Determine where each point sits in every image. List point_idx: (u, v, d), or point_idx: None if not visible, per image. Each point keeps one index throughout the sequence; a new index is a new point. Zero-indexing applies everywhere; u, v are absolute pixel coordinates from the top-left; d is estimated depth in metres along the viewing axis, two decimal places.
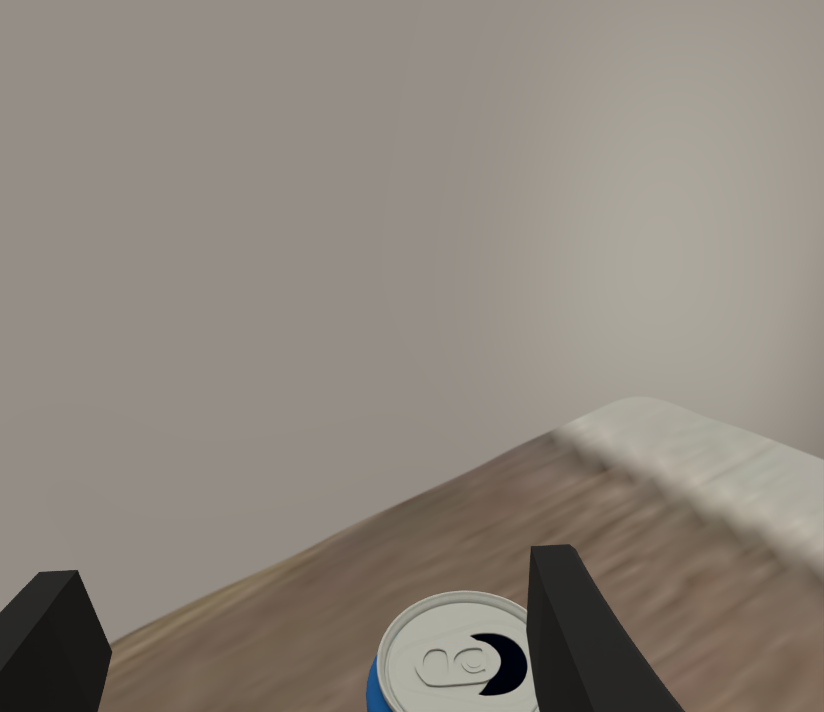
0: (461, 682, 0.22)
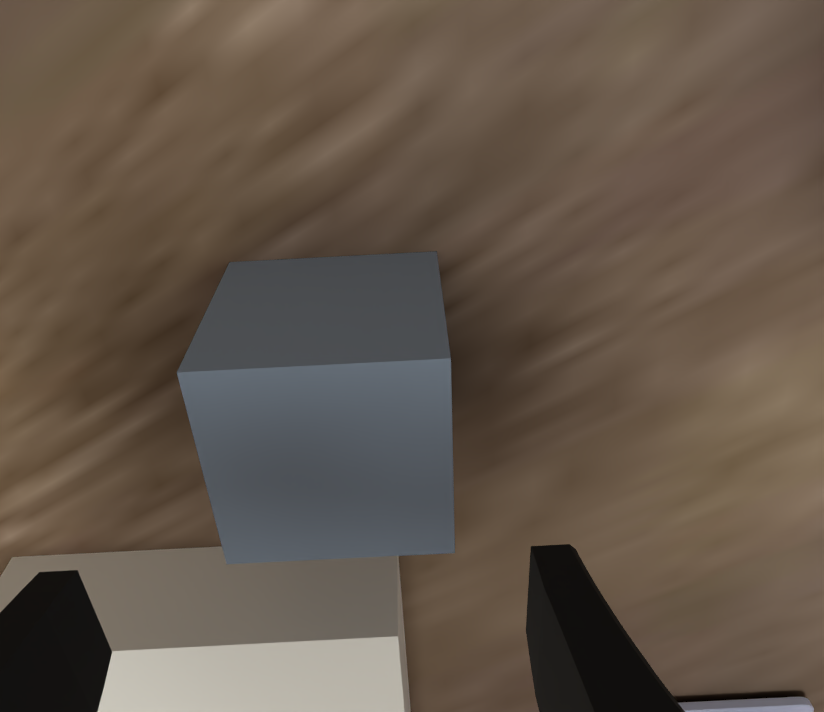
0: None
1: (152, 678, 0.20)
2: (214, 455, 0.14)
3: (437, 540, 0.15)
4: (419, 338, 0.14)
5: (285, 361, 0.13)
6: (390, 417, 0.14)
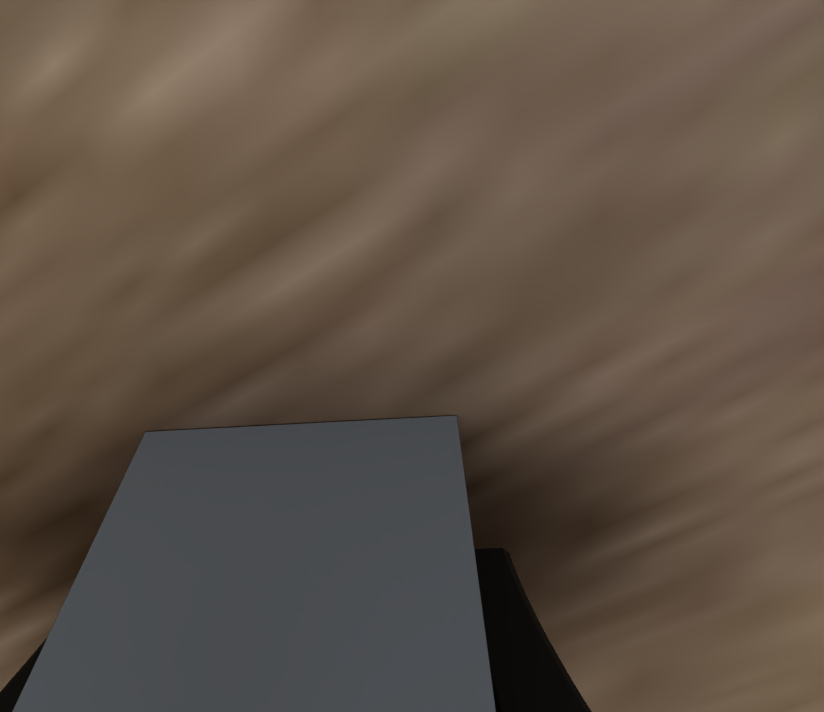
0: None
1: None
2: None
3: None
4: (436, 646, 0.08)
5: (197, 708, 0.07)
6: None
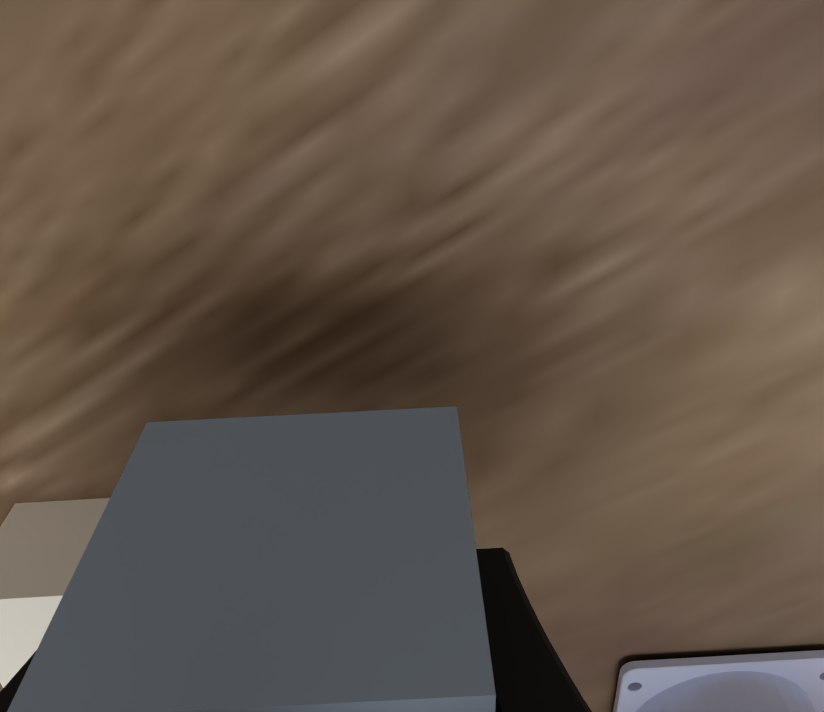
0: None
1: None
2: None
3: None
4: (436, 631, 0.08)
5: (199, 692, 0.07)
6: None
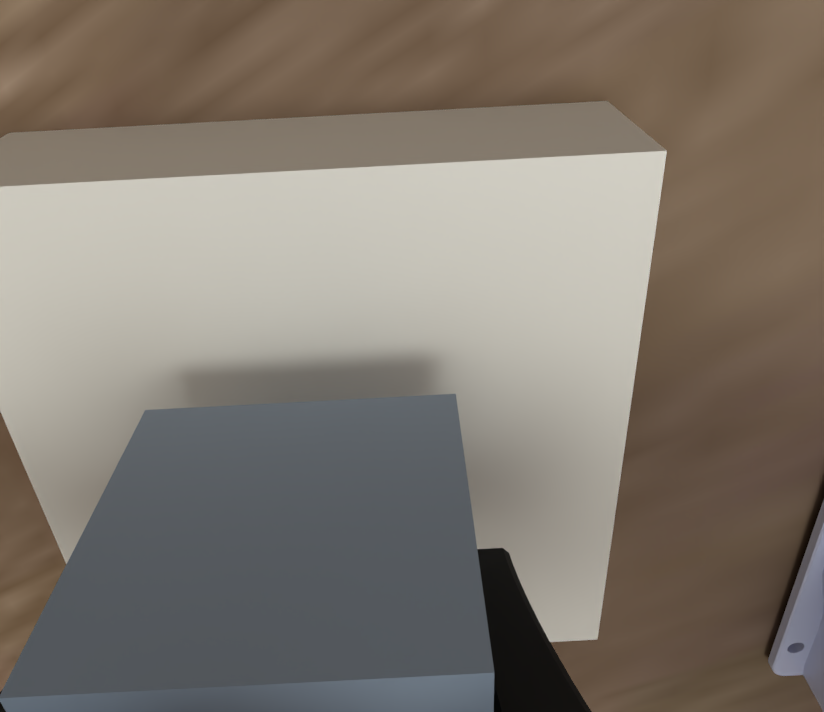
0: None
1: (244, 247, 0.12)
2: None
3: None
4: (435, 611, 0.08)
5: (196, 671, 0.07)
6: None
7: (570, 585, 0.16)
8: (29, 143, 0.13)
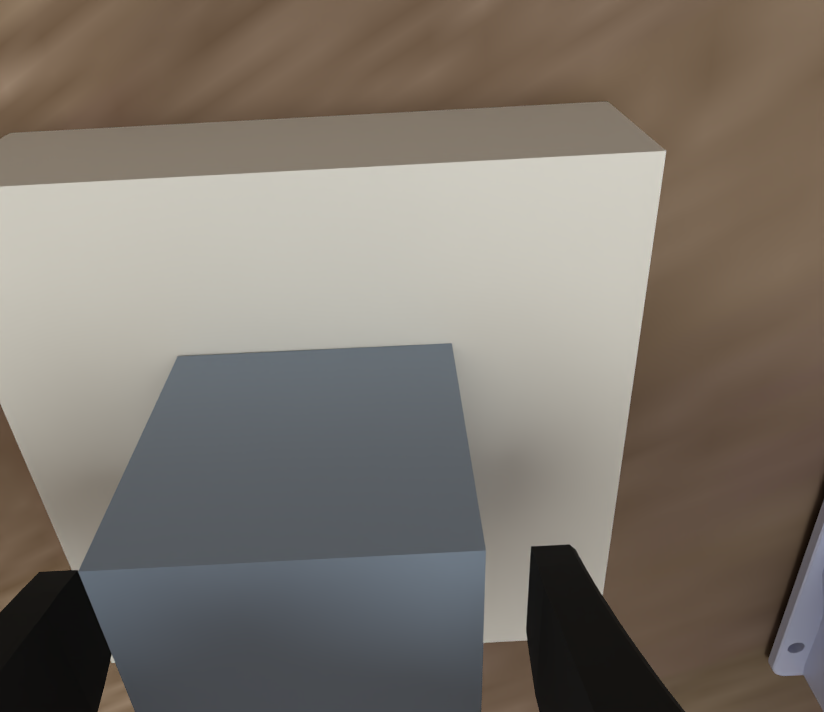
0: None
1: (245, 246, 0.12)
2: (141, 669, 0.10)
3: None
4: (436, 507, 0.09)
5: (240, 551, 0.09)
6: (394, 622, 0.09)
7: None
8: (31, 143, 0.14)
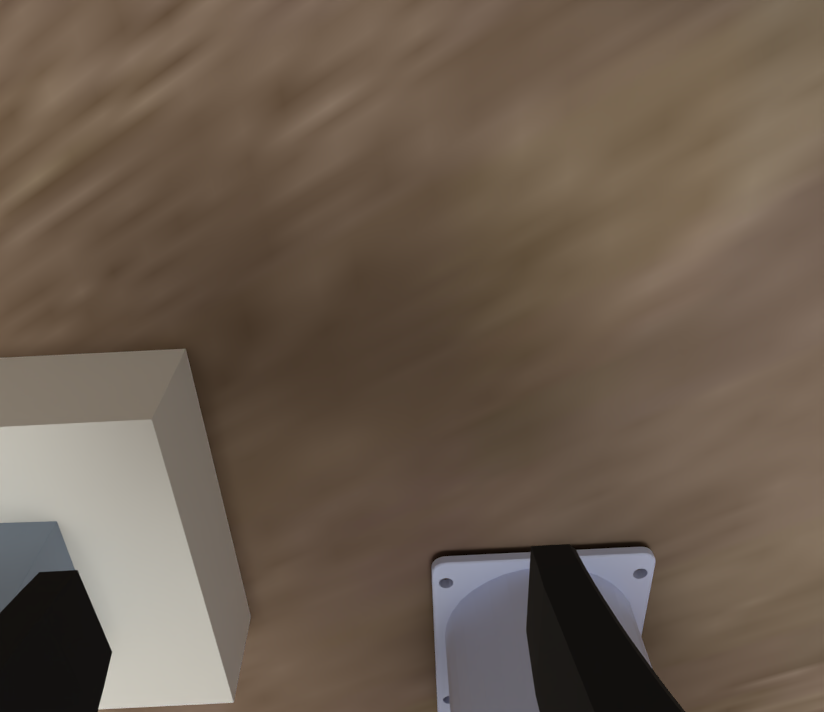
0: None
1: None
2: None
3: None
4: None
5: None
6: None
7: (198, 666, 0.23)
8: None
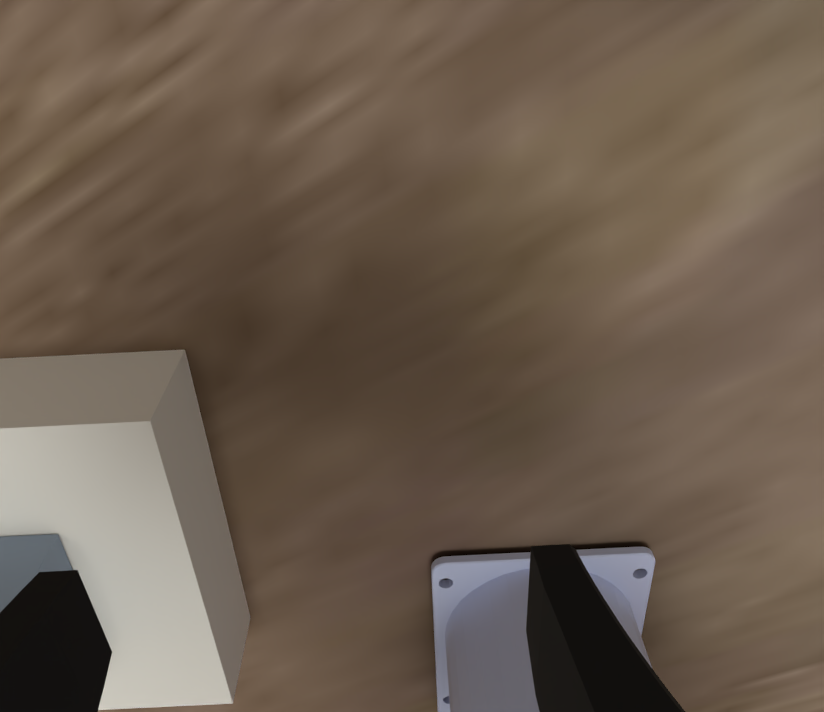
0: None
1: None
2: None
3: None
4: None
5: None
6: None
7: (197, 667, 0.23)
8: None
